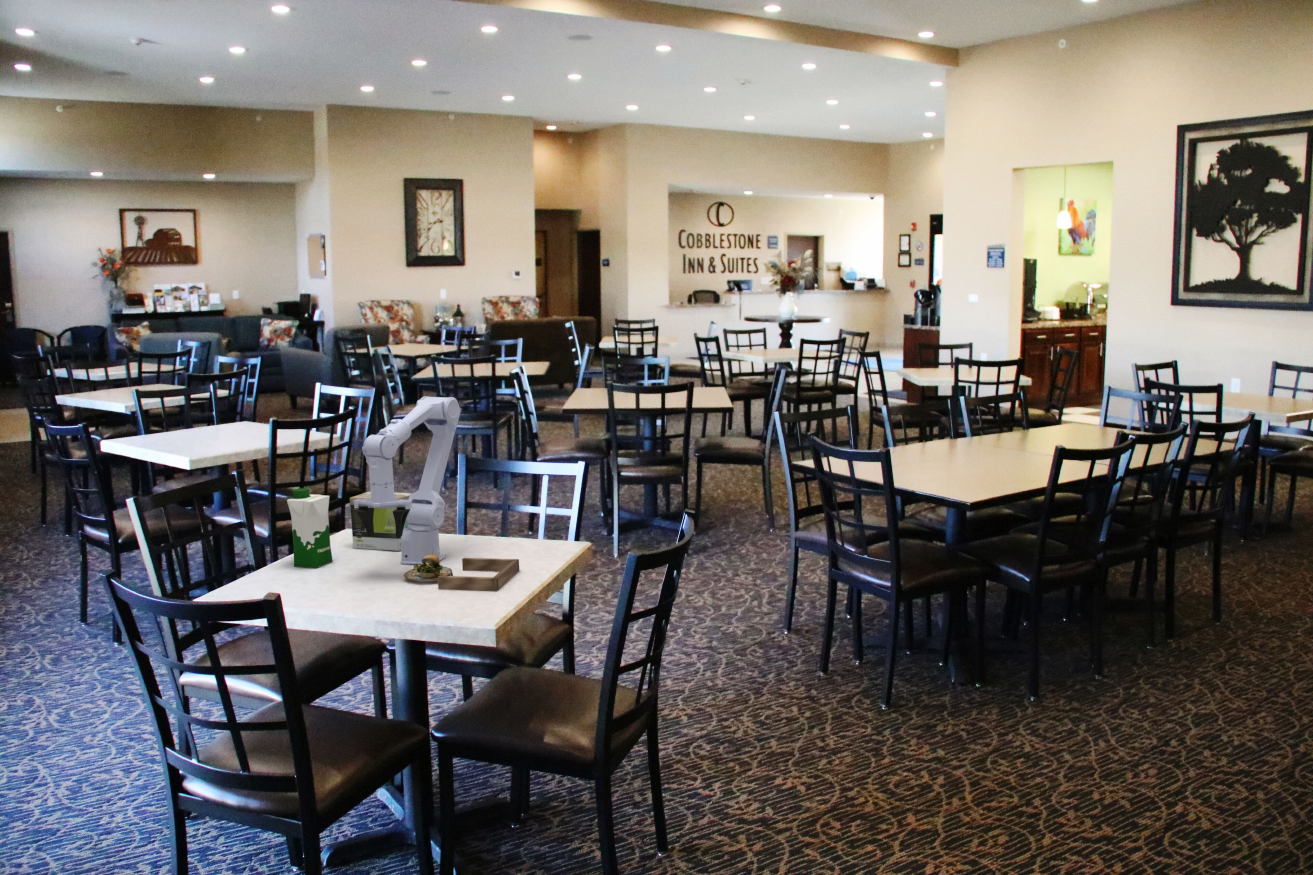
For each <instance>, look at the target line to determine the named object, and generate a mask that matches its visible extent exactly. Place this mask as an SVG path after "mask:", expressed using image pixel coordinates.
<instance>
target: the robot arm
mask: <svg viewBox="0 0 1313 875" xmlns="http://www.w3.org/2000/svg"><path fill="white" fill-rule="evenodd" d="M461 412H462V410H461V407H460V405H459V402H458V399H457V398H455V397H453V396H448V397H446V396H445V397H444V396H443V397H442V396H441V397H440V396H438V397H437V396H428V395H425V396H422V397H421V398H420V399H418V400H417V401H416V405H415V406H414V408H413V409H412V410H410V412H408V414H406V415H405V417H404V418H402V419H401V418H397V419H396V418H395V419H391V420H390V423H389V424H387V425H386V426H385V427H384V428H381V429H380V430H379V432H377V434H370V435H369V436H368V437H366V438H365V439H364V442H363V446H362V447H361V450H362V453H363V454H362V455H364V456H365V459H366V460H365V462H366V463H367V465H368V473H369V490H370V491H369V492H370V493H371V499H357V500H354V508H359V509H358V511H357V514H358V516H359V517H360V519H361V520H362V522H363V524H364V527H365V529H366V532H367V536H368V537H371V536H373V535H374V525H373V516H374V508H397V510H394V511H393V516H394V519H395V526H396V537H397V538H400V537H401V550H400V551H401V552H400V553H401V561H400V564H401V565H416V563H417V564H418V565H422V564H423V563H422V559H423V558H424V557H425V556H428V555H432V554H433V555H435V556H437V557H438V558H439V560H440V562H441V561H442V560H443V559H445V558H446V555H444V554H441V552H440V537H439V536H440V535H439V531H440V530H439V529H440V528H441V527H442V525H443V523H444V521H445V514H446V513H445V507H446V501H445V500H444V499H443V497H441V495H440V491H441V487H442V484H443V480H444V475H445V472H446V469H447V465H448V461H449V456H450V453H451V450H452V445H453V441H454V437H455V433H456V430H457V428H458V423H459V420H460V416H461ZM422 423H424V424H425V426H426V428H427V429H428V430H429V431H431V433H432V438H431V442H430V446H429V449H428V454H427V457H426V460H425V464H424V469H423V473H422V476H421V479H420V484H419V487H418V489H417V490H416V491H415V492H412V493H413V494H412V495H411V496H409V500H404V499H395V496H394V492H395V482H394V466H393V465H394V464H393V463H394V462H393V458H394V457H395V456H396V454H397V451H398V449H399V447H400V446H401V445H402V444H403V443H404V442H407V440H408V439H409V438H410V437H411V436H412V430H414V429H415V428H417V427H419V425H421V424H422ZM404 524H406V525H408V528H405V529H404V530H403V528H404ZM433 548H434V550H433Z"/></svg>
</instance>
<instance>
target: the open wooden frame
mask: <svg viewBox="0 0 1313 875" xmlns="http://www.w3.org/2000/svg"><path fill="white" fill-rule="evenodd" d="M461 563H462V564H461V565H462V571H468V572H469V571H471V572H475V571H477V572H497V574H495V575H494V576H491V577H490V576H489V577H488V576H487V577H486V576H466V575H465V576H464V575H462V576H461V575H460V576H459V575H453V576H451V575H450V576H439V577H438V580H437V587H438V590H451V591H453V590H454V591H481V592H482V591H483V592H497V591H499V590H500V589H502V587H504V585H506V584H507V583H508V582H509V581H510V580H511V579H512V578H513V577H514V576H515V575H516V574H518V572H520V559H517V558H484V557H483V558H482V557H463V558H462V559H461Z"/></svg>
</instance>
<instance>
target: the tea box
mask: <svg viewBox="0 0 1313 875" xmlns="http://www.w3.org/2000/svg"><path fill="white" fill-rule="evenodd" d="M413 493H414V492H395V491H394V496H395V499H404V500H409V496H411V495H412V494H413ZM357 499H371V493H370V491H367V492H363V493H361V494H358V495H355V496H351V497H349V505H350V519H351V533H352V536H351V537H352V545H353V546H352V547H353V549H363V550H364V549H365V550H379V551H395V552H400V551H401V537H400V538H397V537H396V526H395V519H394V516H393V511H394V510H397V508H374V516H373V525H374V535H373V536H371V537H368V536H367V532H366V529H365V527H364V524H363V522H362V520H361V519H360V517H359V516H358V514H357V511H358V509H359V508H354V500H357ZM405 528H408V525H406V524H404V528H403V530H404V529H405Z"/></svg>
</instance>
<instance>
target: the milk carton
mask: <svg viewBox="0 0 1313 875" xmlns="http://www.w3.org/2000/svg"><path fill="white" fill-rule="evenodd" d="M292 493H293V497H291V498H289V499H287V500H286V502H287V506H288V509H289V513H290V517H291V530H292V532H291V533H292V541H293V542H292V544H293V567H297V568H308V569H318V568H320V567H323V566H326V565H328V564H330V563H332V562H333V555H332V548H331V547H332V546H331V537H330V536H331V535H330V534H331V533H330V523H329V522H330V520H329V505H330V495H322V494H311V493H310V488H307V487H298V488H295V489H293V490H292Z"/></svg>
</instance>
